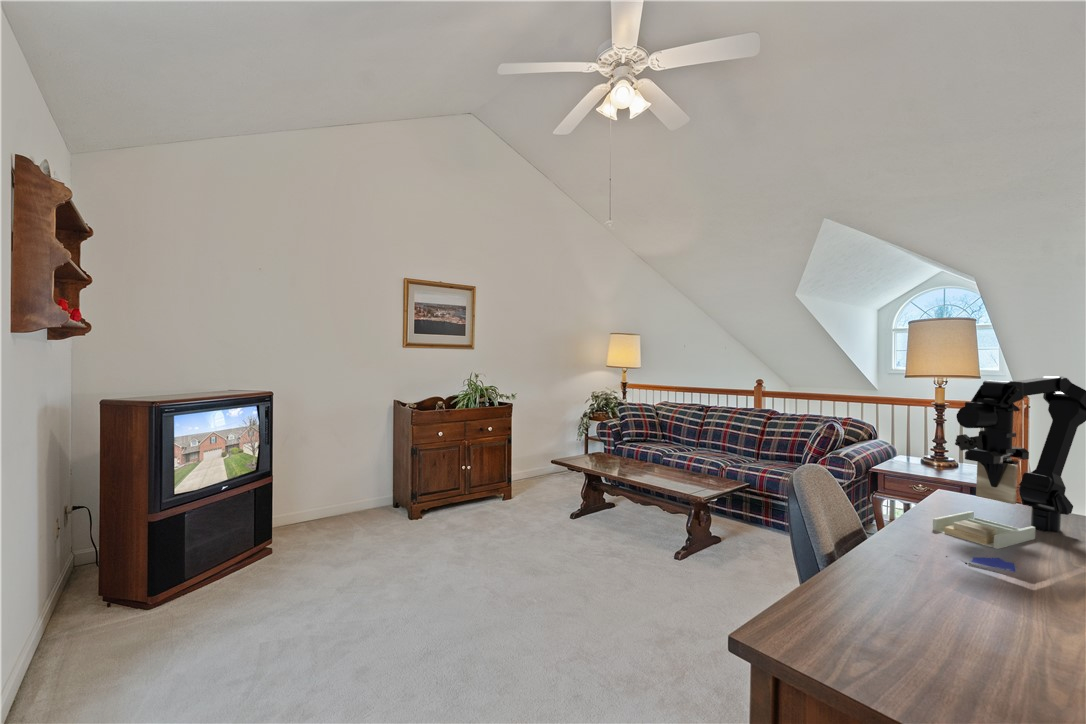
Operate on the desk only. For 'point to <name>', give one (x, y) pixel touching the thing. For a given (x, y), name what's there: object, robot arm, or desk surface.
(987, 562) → the hard drive
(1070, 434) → the robot arm
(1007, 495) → the birch sheet
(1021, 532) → the rack
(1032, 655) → the desk surface
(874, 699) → the desk surface
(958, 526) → the offcut top
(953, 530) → the offcut bottom
